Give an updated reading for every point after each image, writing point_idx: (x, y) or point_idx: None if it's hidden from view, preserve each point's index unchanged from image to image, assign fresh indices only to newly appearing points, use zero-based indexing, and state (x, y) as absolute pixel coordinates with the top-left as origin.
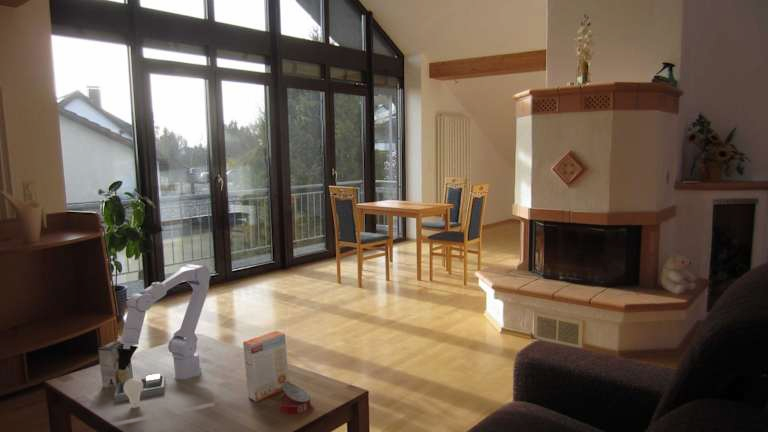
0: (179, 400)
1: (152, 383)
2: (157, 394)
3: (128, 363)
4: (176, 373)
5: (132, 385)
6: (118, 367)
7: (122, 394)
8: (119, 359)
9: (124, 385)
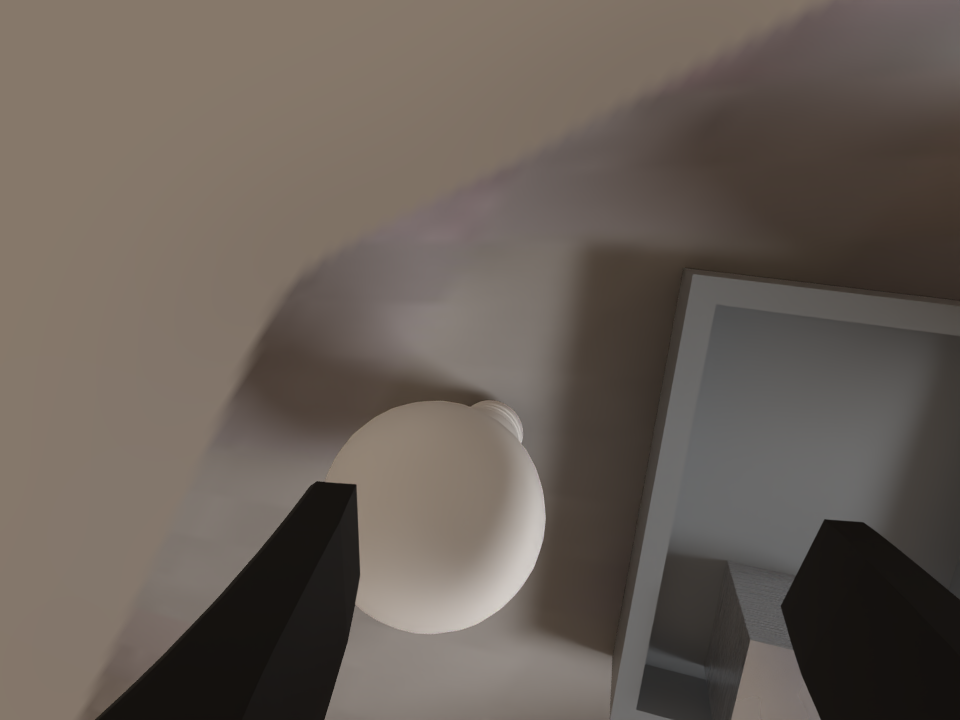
0: (461, 716)
1: (730, 664)
2: (620, 623)
3: (809, 682)
4: None
5: None
6: (298, 505)
7: (677, 358)
8: (145, 679)
9: (389, 437)
